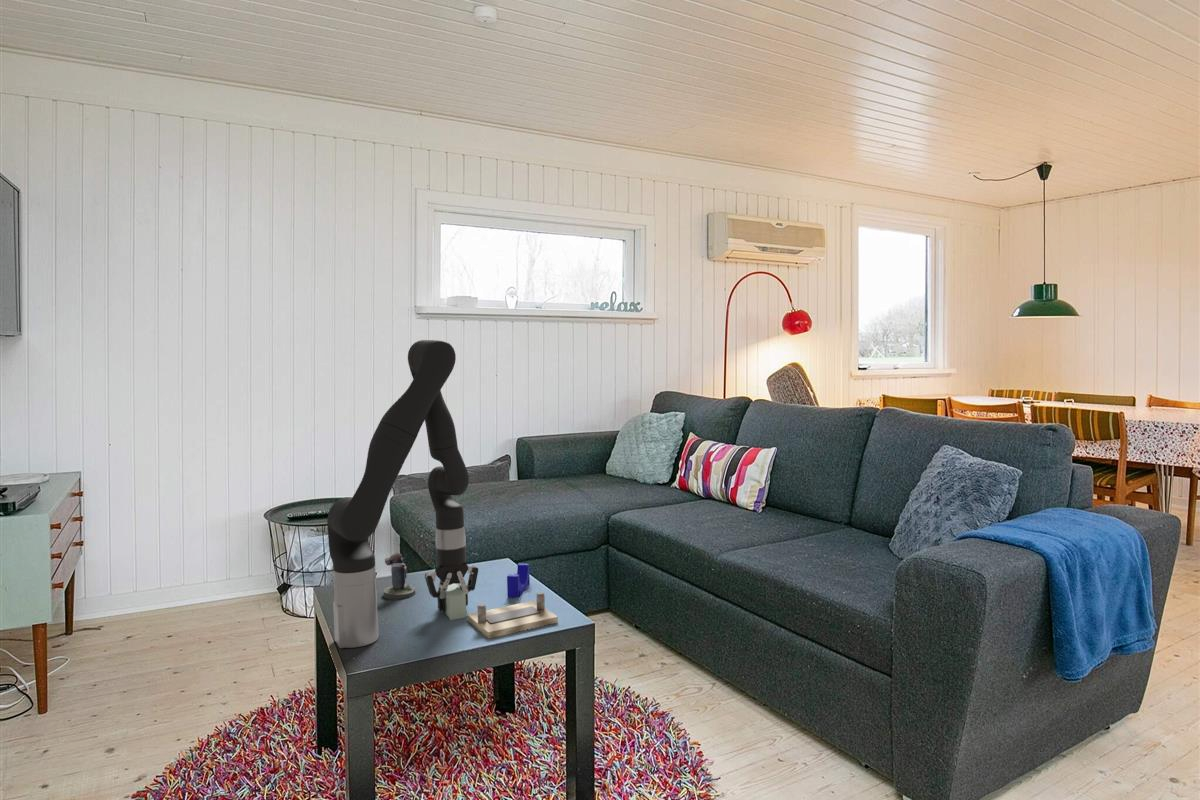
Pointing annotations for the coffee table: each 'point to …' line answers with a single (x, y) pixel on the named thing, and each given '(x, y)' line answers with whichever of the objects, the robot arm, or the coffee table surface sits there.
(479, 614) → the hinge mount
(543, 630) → the coffee table surface
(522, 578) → the blue piece
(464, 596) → the door block
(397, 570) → the figurine
